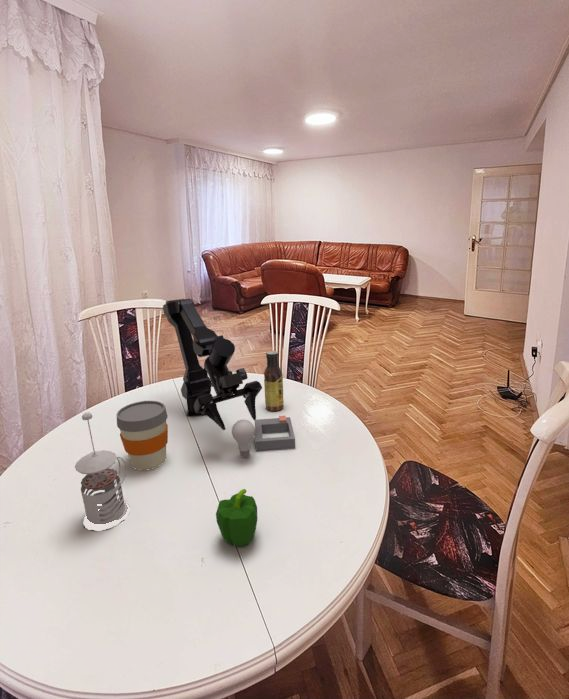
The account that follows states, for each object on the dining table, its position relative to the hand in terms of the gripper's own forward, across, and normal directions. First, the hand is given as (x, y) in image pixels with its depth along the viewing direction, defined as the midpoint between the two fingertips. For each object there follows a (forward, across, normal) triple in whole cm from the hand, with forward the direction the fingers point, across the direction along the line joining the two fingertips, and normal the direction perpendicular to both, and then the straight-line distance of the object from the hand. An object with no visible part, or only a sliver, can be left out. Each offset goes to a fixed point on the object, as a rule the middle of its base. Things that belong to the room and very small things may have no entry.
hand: (240, 424), depth 107 cm
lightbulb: (+8, 0, +6) cm, 10 cm away
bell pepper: (+26, -14, -12) cm, 32 cm away
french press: (+9, -35, +4) cm, 36 cm away
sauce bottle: (-7, +22, +20) cm, 31 cm away
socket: (+5, +12, +8) cm, 15 cm away
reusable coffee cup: (-2, -22, +15) cm, 27 cm away
